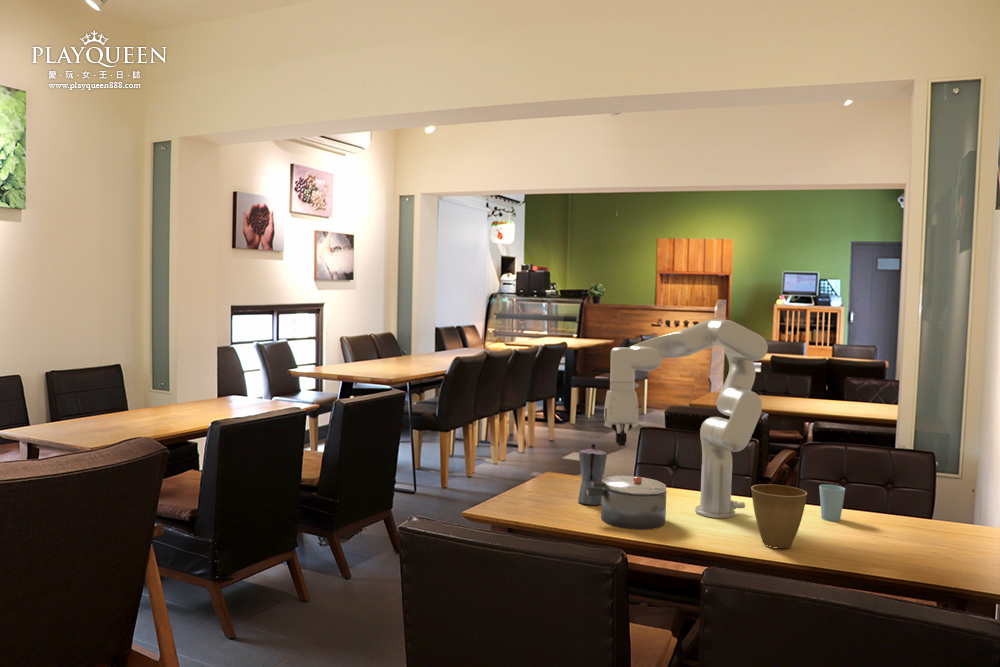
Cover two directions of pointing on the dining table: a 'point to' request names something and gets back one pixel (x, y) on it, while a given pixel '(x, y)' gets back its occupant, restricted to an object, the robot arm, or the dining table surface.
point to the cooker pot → (631, 509)
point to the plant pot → (778, 513)
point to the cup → (831, 501)
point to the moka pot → (591, 473)
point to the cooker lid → (631, 485)
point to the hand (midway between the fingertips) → (620, 445)
